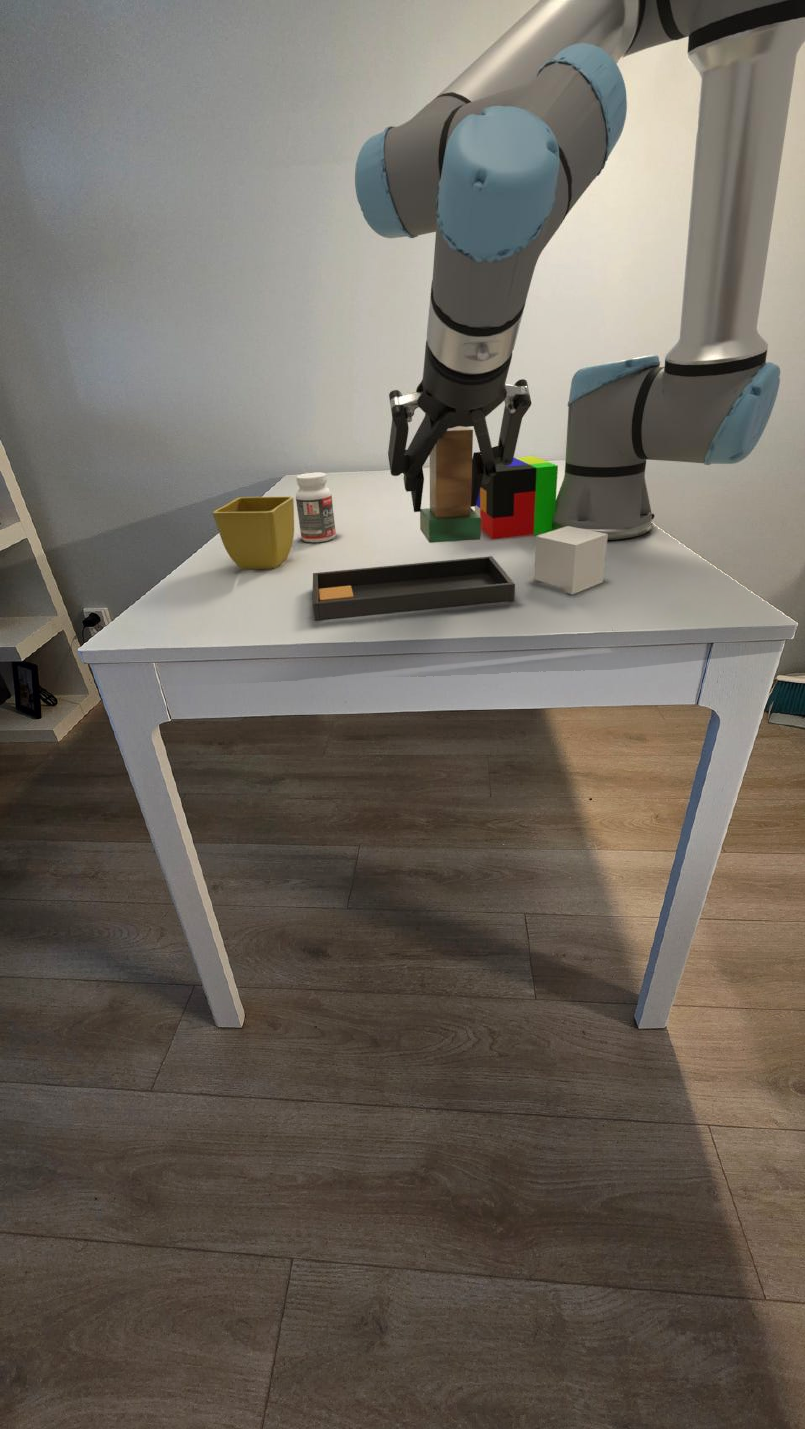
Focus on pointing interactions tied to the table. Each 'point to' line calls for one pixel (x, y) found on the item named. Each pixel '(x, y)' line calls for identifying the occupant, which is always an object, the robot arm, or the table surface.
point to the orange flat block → (335, 593)
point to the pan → (413, 587)
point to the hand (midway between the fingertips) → (443, 499)
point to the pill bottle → (315, 508)
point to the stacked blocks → (451, 490)
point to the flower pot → (257, 530)
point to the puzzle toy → (519, 499)
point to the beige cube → (570, 558)
